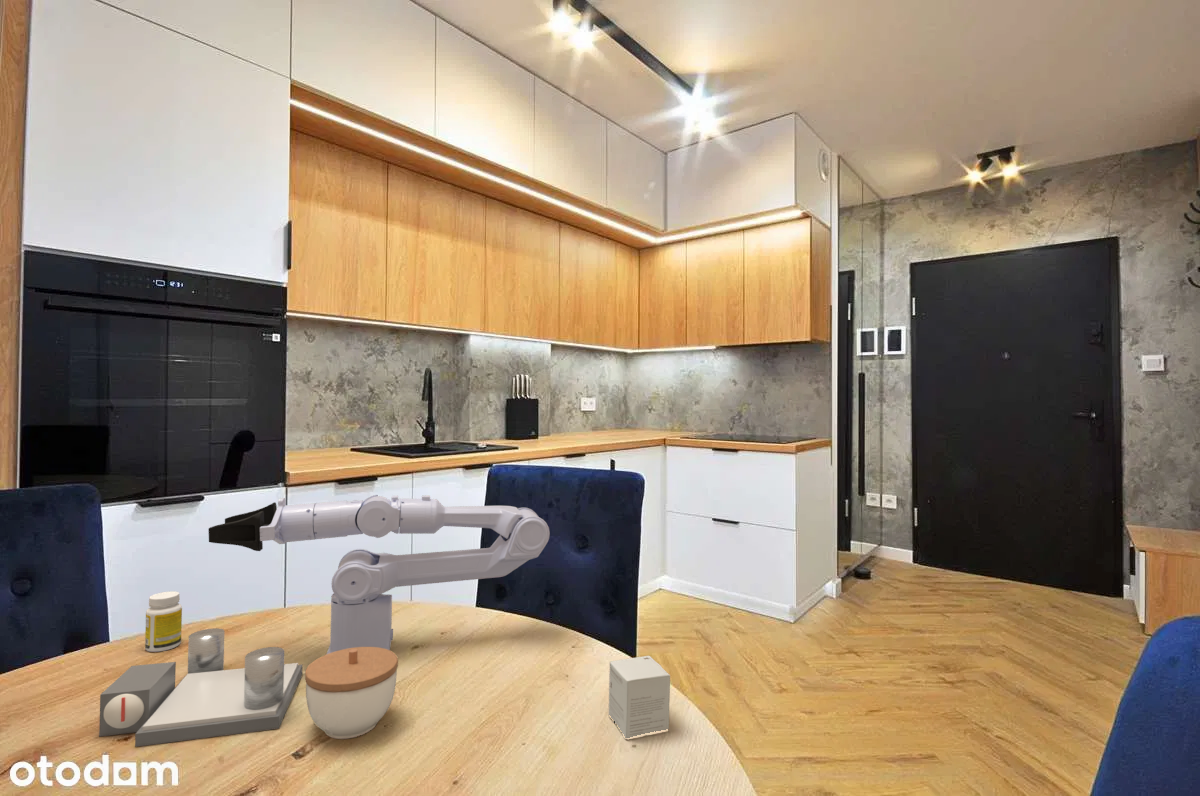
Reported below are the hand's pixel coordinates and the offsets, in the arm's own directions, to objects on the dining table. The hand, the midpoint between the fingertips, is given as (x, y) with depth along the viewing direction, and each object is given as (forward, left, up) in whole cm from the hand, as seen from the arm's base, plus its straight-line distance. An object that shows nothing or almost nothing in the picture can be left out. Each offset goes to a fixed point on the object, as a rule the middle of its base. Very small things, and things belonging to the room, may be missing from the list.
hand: (217, 529), depth 90 cm
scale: (-3, +14, -21) cm, 25 cm away
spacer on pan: (-11, +18, -19) cm, 28 cm away
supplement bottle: (+10, -10, -21) cm, 25 cm away
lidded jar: (-22, +23, -21) cm, 38 cm away
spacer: (0, +3, -21) cm, 21 cm away
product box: (-57, +32, -21) cm, 68 cm away
